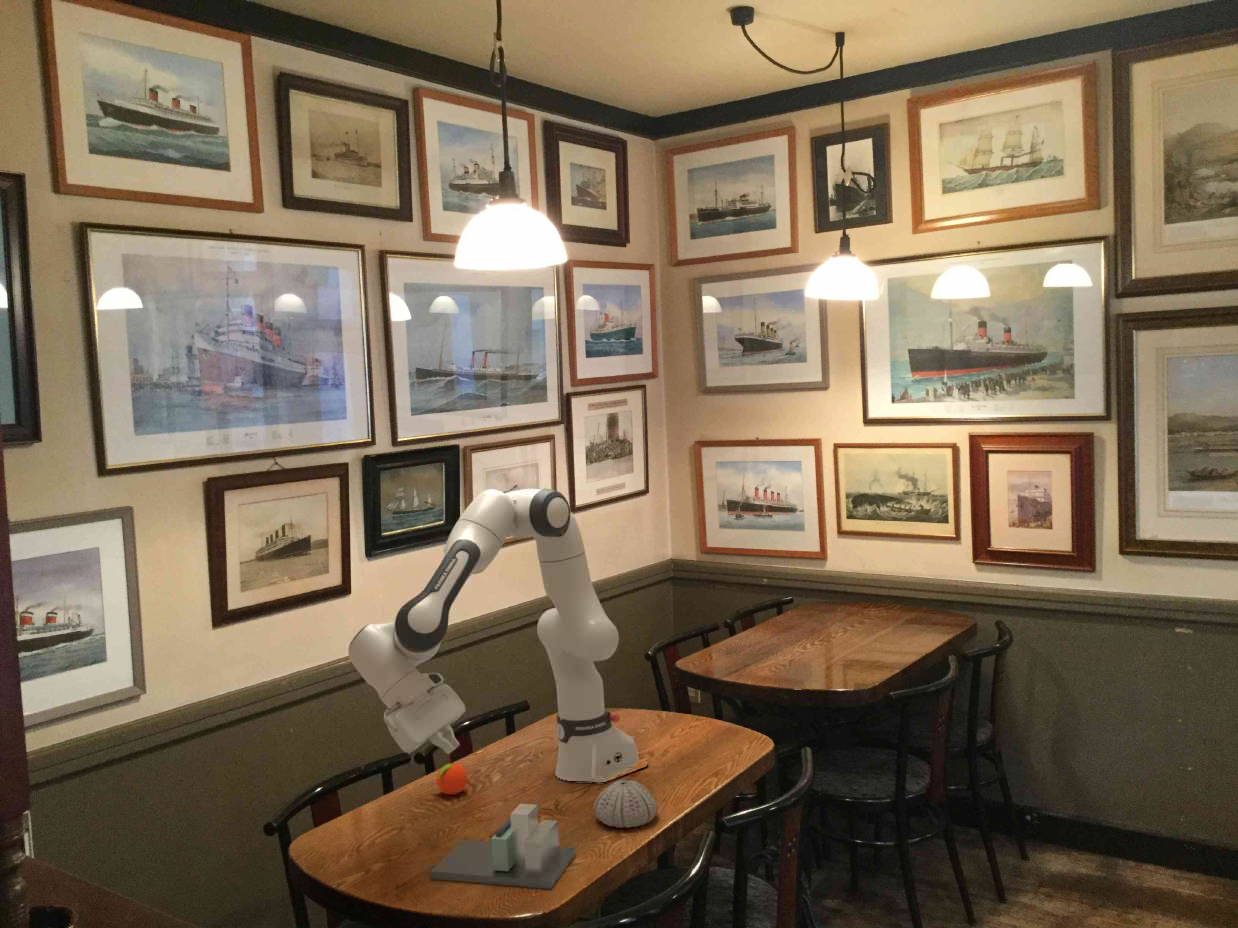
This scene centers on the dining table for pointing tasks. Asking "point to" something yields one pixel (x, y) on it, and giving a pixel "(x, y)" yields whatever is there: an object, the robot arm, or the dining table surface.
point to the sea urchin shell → (625, 805)
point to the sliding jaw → (502, 847)
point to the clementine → (452, 778)
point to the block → (522, 830)
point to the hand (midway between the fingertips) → (454, 749)
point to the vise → (539, 871)
